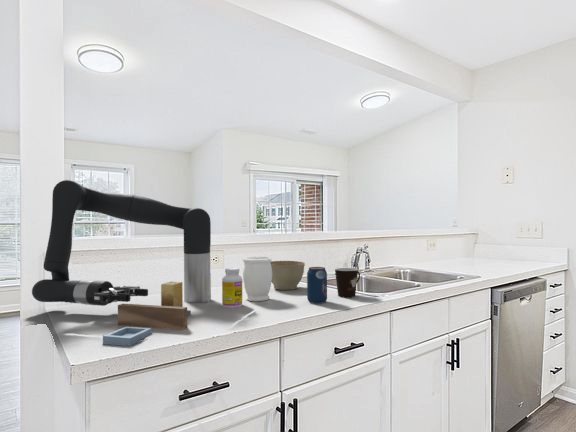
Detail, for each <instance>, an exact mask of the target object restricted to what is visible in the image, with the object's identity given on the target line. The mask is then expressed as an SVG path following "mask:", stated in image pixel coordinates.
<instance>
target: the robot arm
mask: <svg viewBox="0 0 576 432" xmlns="http://www.w3.org/2000/svg"><path fill="white" fill-rule="evenodd" d="M51 202H52V205H51V206H52V207H51V210H52V211H51V222H50V232H49V236H48V242H47V245H46V246H47V247H46V251H45V256H44V261H43V269H44V270H45V271H47V272H49V273H51V278H49V279H46V278H44V279H41V280H38V281H37V282H35V284H33V286H32V289H31V295H32V297H33V298H34V299H35V300H36V301H38V302H40V303H60V302H62V303H63V302H64V303H70V304H79V305H80V304H81V305H84V306H101V307H104V306H105V307H106V306H107V305H110V304H112V303H117V302H120V303H121V302H124V303H128V302H130V301H131V297H148V296H149V289H148V288H141V286H139V285H137V286H133V285H131V286H130V285H123V286H120V285H119V286H118V285H116V286H114V285H113V283H112V282H110V281H109V280H90V279H89V280H88V279H87V280H70V272H69V264H70V260H71V254H72V248H73V247H72V246H73V224H74V219H75V214H76V212H77V211H83V212H92V213H97V214H98V213H99V214H102V215H106V216H110V217H113V218H116V219H119V220H123V221H129V222H133V223H137V224H145V225H154V226H169V227H174V228H177V229H180V230H183V300H184V301H183V302H184V303H190V304H191V303H192V304H195V303H196V304H204V303H208V302H210V301H211V299H212V288H211V287H212V284H211V283H212V280H211V279H212V278H211V277H212V276H211V275H212V273H211V243H212V242H211V238H212V237H211V234H212V233H211V232H212V231H211V227H212V226H211V225H212V223H211V217H210V215H209V213H208V212H207V211H206V210H205V209H203V208H199V207H195V208H190V207H189V208H188V207H180V206H175V205H171V204H168V203H164V202H163V201H160V200H156V199H153V198H150V197H146V196H141V195H136V194H131V193H130V194H129V193H117V192H116V193H115V192H104V191H99V190H96V189H92V188H88V187H87V186H86V187H85V186H83V185H81V184H80V183H78V182H76V181H74V180H71V179H64V180H61V181H58V183H56V184H55V186H54V187H53V190H52V201H51Z"/></svg>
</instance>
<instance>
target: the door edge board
mask: <svg viewBox="0 0 576 432" xmlns="http://www.w3.org/2000/svg"><path fill="white" fill-rule="evenodd" d="M187 310H188V306H183V307H175V306H161V305H158V304H157V305H153V304H137V303H135V304H133V303H120V304H118V305H117V326H125V327H140V328H153V329H154V328H155V329H169V330H182V331H183V330H185V329H188V316H187Z"/></svg>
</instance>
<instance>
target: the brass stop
mask: <svg viewBox="0 0 576 432" xmlns="http://www.w3.org/2000/svg"><path fill="white" fill-rule="evenodd" d="M160 290H161V291H160V299H161V301H160V302H161V303H160V306H175V307H184V306H183V304H184V303H183V302H184V301H183V300H184V294H183V281H168V282H165V283H161V284H160Z"/></svg>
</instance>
